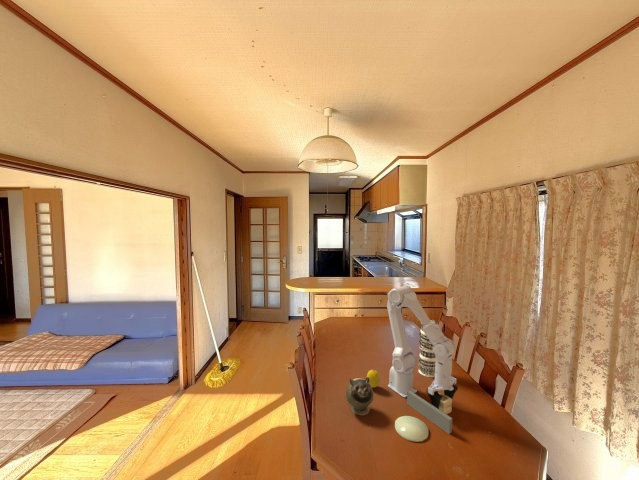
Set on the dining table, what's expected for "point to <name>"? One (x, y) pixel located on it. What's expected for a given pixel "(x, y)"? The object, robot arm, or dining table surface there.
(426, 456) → the dining table surface
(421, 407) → the grey rectangular bar
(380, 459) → the dining table surface
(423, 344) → the decorative candle
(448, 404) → the cube
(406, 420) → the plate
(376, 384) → the lemon
